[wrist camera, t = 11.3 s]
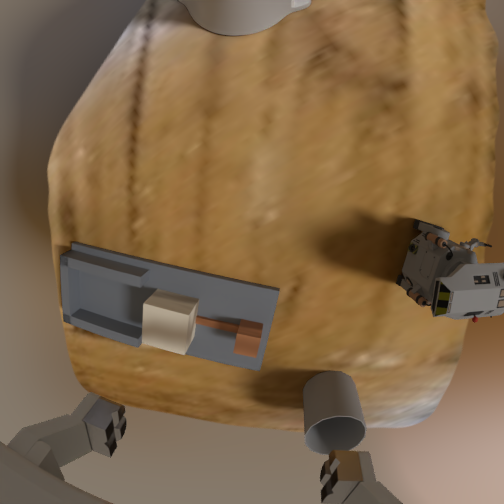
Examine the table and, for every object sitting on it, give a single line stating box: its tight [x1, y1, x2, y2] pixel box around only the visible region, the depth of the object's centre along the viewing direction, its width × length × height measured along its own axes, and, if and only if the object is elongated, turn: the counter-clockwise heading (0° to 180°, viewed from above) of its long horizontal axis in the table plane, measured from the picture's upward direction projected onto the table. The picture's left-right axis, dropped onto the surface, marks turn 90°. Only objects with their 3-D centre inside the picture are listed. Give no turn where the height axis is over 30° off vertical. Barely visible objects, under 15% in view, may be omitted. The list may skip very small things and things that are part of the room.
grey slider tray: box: [60, 242, 280, 371], centre depth 42 cm, size 13×31×4 cm, turn 79°
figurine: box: [396, 219, 504, 322], centre depth 31 cm, size 9×12×15 cm
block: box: [142, 289, 263, 358], centre depth 41 cm, size 6×15×5 cm, turn 79°
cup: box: [303, 371, 367, 455], centre depth 41 cm, size 8×8×10 cm
